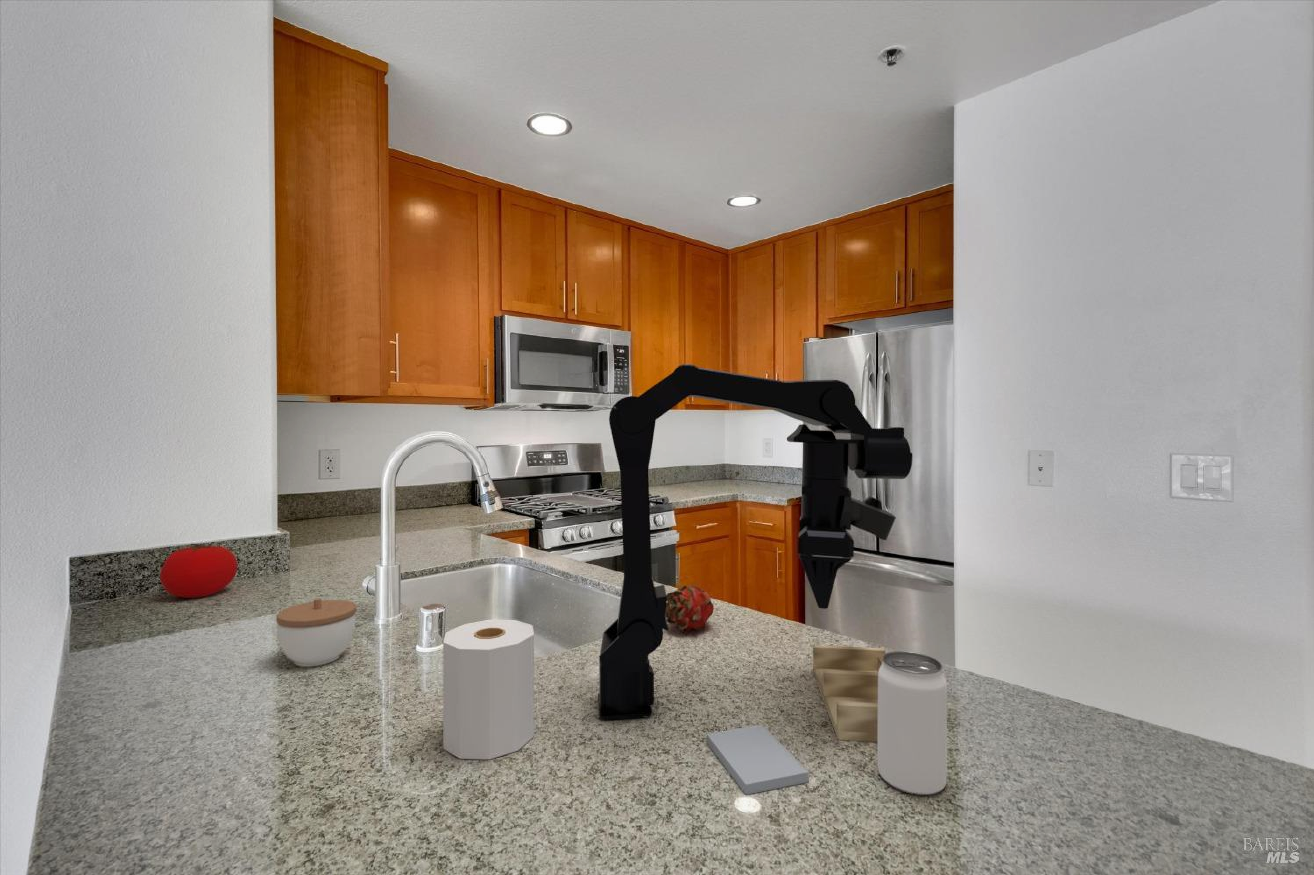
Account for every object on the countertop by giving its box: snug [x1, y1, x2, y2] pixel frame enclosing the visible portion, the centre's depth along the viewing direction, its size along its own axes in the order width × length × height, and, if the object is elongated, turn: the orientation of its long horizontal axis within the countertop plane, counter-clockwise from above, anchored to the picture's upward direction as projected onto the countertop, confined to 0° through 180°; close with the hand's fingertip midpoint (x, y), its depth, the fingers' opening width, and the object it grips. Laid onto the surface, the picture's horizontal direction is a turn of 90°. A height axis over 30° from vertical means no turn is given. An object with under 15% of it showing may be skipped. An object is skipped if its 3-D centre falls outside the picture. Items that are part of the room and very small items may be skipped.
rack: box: [812, 644, 886, 743], centre depth 76 cm, size 10×19×4 cm, turn 174°
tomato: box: [159, 543, 239, 599], centre depth 126 cm, size 12×13×11 cm
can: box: [877, 650, 948, 797], centre depth 60 cm, size 6×6×12 cm
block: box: [706, 724, 810, 796], centre depth 63 cm, size 7×10×1 cm
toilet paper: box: [442, 619, 535, 760], centre depth 68 cm, size 10×10×12 cm
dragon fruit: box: [665, 584, 715, 634], centre depth 105 cm, size 8×8×12 cm
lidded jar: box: [275, 597, 357, 668], centre depth 90 cm, size 11×11×9 cm
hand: (822, 597), depth 76 cm, fingers open, 9 cm apart
